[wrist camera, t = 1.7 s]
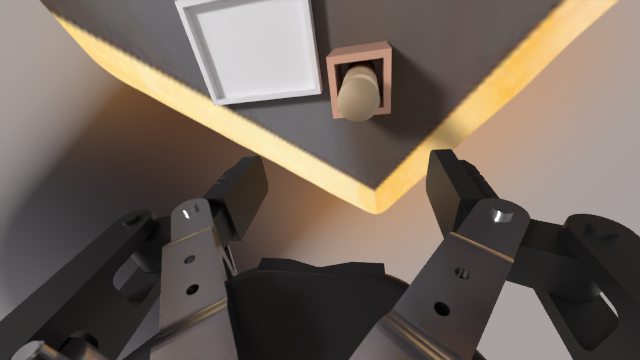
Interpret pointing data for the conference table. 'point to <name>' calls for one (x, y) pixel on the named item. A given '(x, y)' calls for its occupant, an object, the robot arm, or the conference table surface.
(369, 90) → the dowel pin
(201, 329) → the robot arm
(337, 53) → the pink open-ended box
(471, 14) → the conference table surface
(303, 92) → the tray
